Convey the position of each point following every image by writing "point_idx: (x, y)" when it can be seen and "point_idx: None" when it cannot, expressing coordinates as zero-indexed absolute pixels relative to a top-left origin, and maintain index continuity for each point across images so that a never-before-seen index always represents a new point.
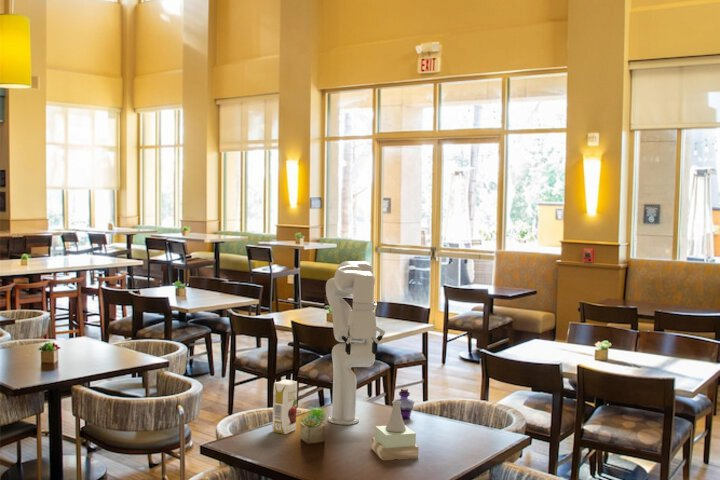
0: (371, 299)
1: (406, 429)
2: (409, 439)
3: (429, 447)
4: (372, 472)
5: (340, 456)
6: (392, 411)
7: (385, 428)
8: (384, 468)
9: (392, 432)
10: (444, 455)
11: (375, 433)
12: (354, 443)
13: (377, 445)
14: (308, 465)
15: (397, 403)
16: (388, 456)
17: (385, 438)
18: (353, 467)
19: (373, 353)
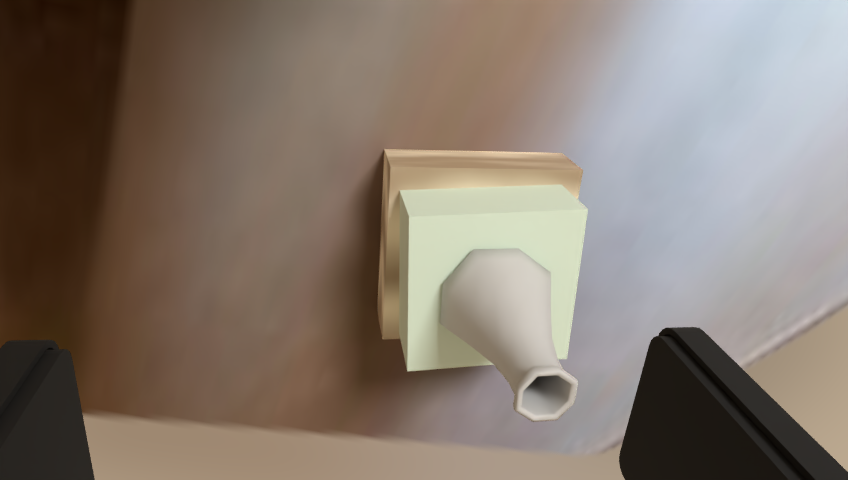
0: None
1: (554, 296)
2: None
3: (658, 187)
4: (290, 422)
5: (191, 236)
6: (500, 359)
7: (443, 284)
8: (352, 391)
9: None
10: (656, 292)
11: (403, 204)
12: (316, 49)
13: (384, 257)
14: (11, 325)
15: (537, 420)
16: None
17: (404, 351)
18: (224, 369)
19: (628, 433)
